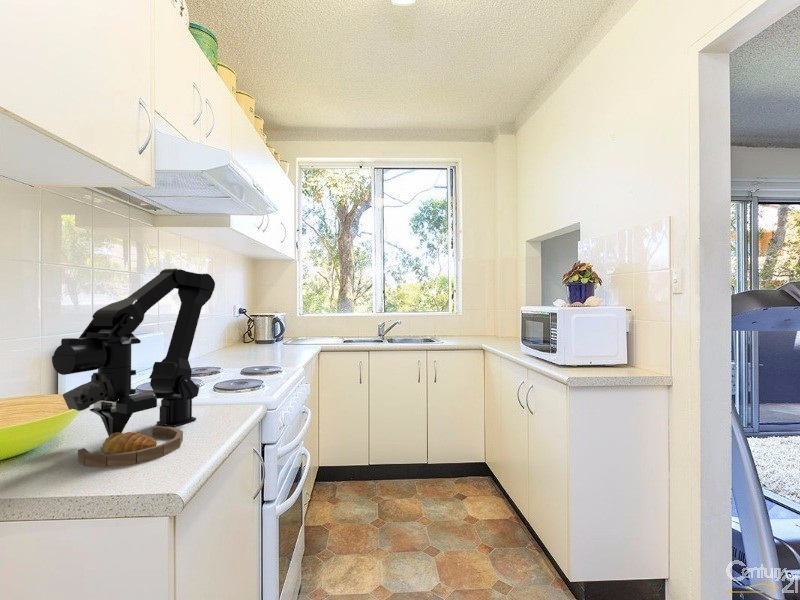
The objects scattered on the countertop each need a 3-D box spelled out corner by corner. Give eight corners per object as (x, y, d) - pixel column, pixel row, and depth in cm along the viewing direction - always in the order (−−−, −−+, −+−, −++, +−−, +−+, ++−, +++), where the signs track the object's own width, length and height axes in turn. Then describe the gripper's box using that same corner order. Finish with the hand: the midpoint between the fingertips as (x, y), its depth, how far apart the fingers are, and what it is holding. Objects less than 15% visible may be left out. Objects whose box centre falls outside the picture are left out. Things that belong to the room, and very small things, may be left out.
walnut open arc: (160, 433, 89) (160, 424, 89) (202, 441, 84) (202, 432, 84) (70, 462, 73) (70, 451, 73) (115, 473, 68) (115, 462, 68)
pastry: (164, 446, 82) (164, 428, 82) (142, 459, 75) (142, 439, 75) (121, 445, 82) (121, 427, 82) (95, 458, 75) (95, 439, 75)
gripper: (42, 369, 78) (41, 447, 78) (101, 376, 71) (100, 461, 71) (102, 362, 88) (102, 430, 88) (159, 367, 81) (158, 441, 81)
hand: (114, 440), depth 82 cm, fingers closed
